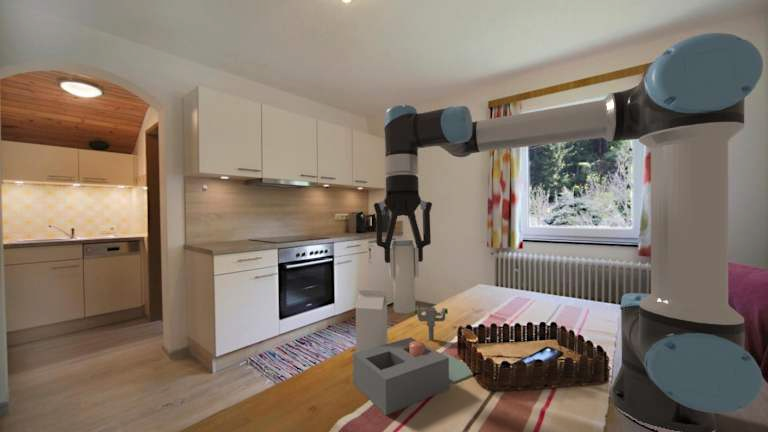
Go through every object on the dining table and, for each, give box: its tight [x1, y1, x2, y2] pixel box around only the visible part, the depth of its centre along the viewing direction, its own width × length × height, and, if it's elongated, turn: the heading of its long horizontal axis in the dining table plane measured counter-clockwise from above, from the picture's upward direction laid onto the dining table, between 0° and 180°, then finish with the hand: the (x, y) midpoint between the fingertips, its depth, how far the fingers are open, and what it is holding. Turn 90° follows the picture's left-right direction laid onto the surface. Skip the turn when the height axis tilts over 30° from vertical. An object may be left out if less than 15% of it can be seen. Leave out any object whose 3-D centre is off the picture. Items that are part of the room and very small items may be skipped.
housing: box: [352, 337, 450, 416], centre depth 71 cm, size 14×17×7 cm
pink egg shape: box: [409, 340, 426, 357], centre depth 73 cm, size 4×4×8 cm
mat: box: [442, 352, 474, 384], centre depth 79 cm, size 12×9×1 cm
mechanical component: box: [413, 306, 448, 342], centre depth 97 cm, size 3×10×10 cm, turn 89°
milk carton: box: [355, 289, 389, 353], centre depth 84 cm, size 7×7×19 cm
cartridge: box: [391, 239, 416, 314], centre depth 71 cm, size 5×5×16 cm
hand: (404, 276), depth 71 cm, fingers closed on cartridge, 5 cm apart
